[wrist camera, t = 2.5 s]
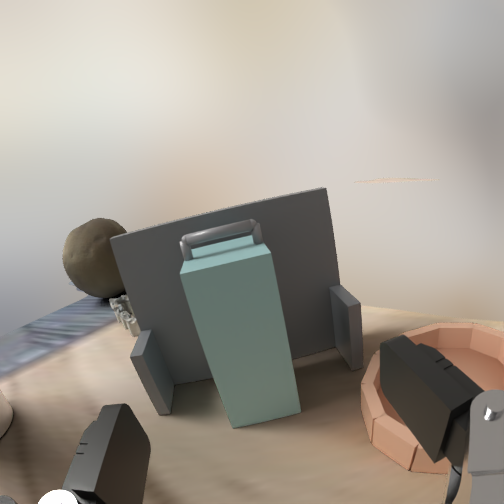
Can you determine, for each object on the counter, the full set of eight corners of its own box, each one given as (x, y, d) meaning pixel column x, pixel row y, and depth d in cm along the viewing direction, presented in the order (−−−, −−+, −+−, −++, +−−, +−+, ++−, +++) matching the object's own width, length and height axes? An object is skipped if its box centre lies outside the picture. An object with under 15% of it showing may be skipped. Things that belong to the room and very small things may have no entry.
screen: (363, 367, 23) (347, 190, 19) (159, 415, 22) (90, 251, 18) (341, 338, 27) (321, 187, 24) (165, 379, 26) (113, 236, 23)
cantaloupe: (90, 293, 59) (68, 226, 55) (149, 277, 62) (130, 207, 58) (72, 320, 46) (43, 237, 42) (145, 301, 48) (118, 212, 44)
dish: (336, 459, 15) (334, 436, 14) (385, 344, 24) (385, 321, 24) (529, 470, 7) (546, 445, 7) (516, 346, 17) (522, 321, 17)
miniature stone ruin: (182, 321, 39) (173, 293, 38) (131, 344, 35) (120, 315, 34) (156, 302, 48) (149, 278, 47) (114, 319, 44) (105, 295, 42)
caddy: (301, 412, 20) (265, 224, 16) (232, 428, 19) (171, 246, 16) (285, 370, 25) (252, 212, 21) (228, 383, 25) (182, 229, 21)
